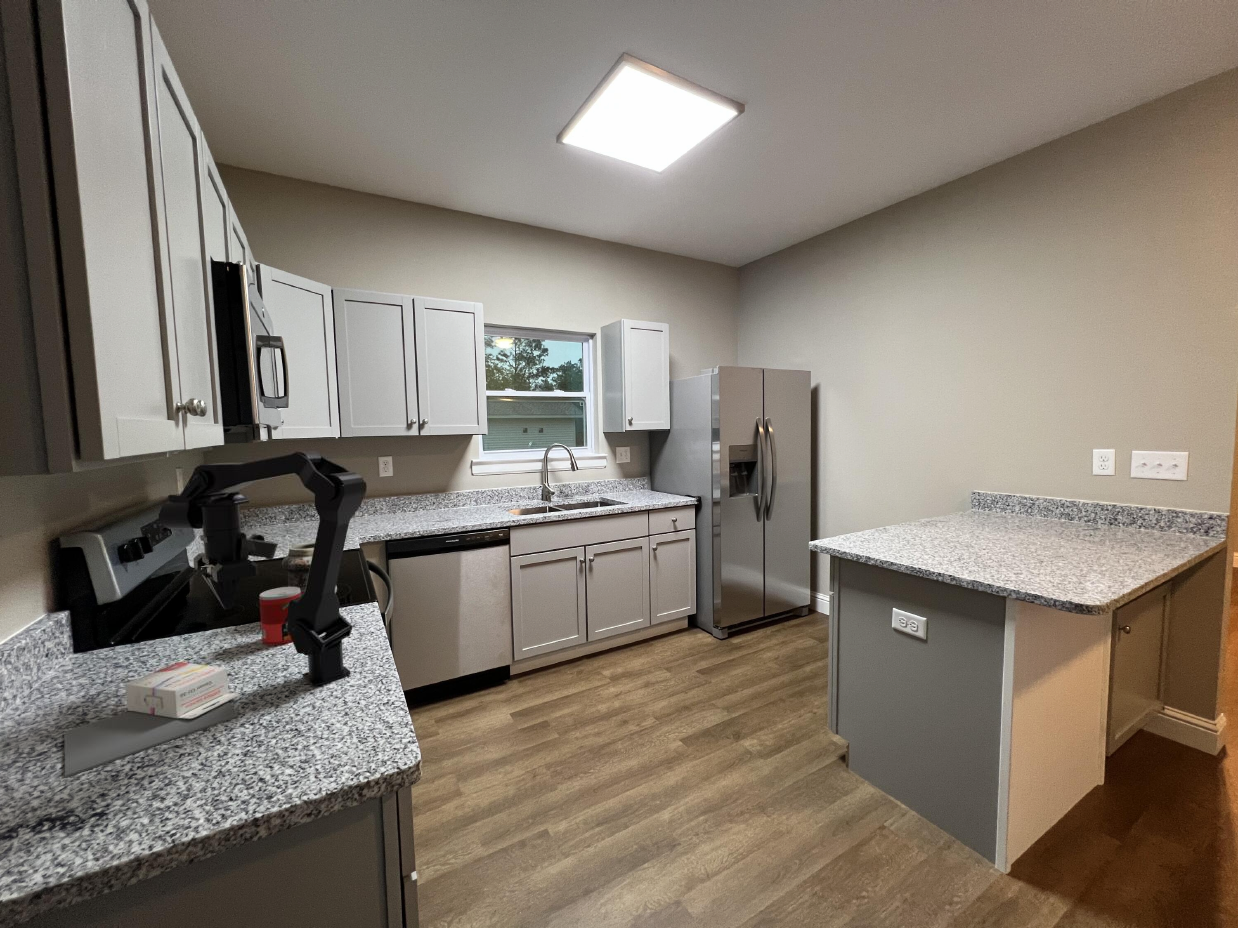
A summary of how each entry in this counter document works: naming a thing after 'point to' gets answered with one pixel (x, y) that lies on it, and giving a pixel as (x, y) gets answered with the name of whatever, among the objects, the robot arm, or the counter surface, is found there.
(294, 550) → the apothecary jar
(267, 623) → the canned food
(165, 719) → the mat
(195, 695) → the ink cartridge box
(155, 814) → the counter surface
